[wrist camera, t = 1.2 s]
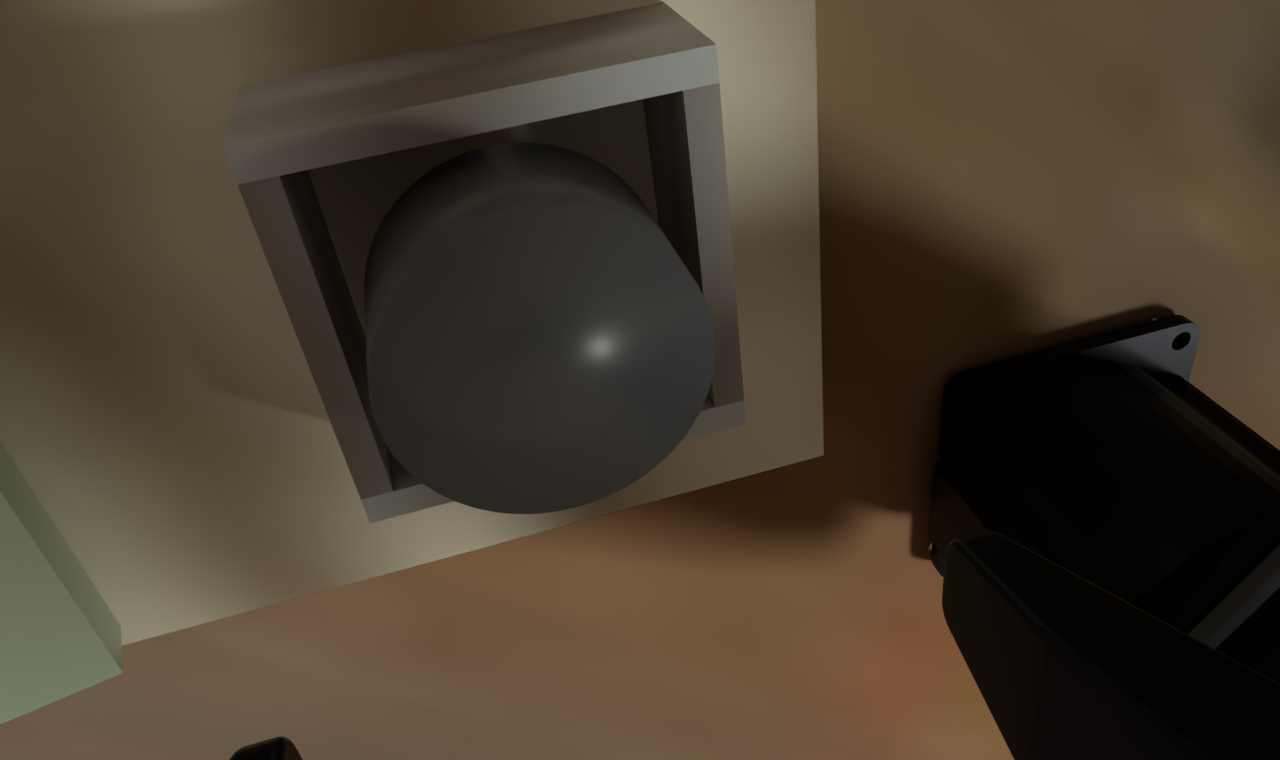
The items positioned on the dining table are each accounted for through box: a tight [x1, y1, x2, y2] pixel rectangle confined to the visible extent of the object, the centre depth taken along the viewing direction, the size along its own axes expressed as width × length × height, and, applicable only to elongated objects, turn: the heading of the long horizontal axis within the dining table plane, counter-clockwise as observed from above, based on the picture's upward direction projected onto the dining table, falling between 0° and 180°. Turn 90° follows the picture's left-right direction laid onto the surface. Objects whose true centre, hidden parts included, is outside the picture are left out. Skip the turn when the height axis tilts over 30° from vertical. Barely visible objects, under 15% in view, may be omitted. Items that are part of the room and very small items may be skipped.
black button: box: [364, 143, 716, 514], centre depth 13 cm, size 4×4×2 cm
